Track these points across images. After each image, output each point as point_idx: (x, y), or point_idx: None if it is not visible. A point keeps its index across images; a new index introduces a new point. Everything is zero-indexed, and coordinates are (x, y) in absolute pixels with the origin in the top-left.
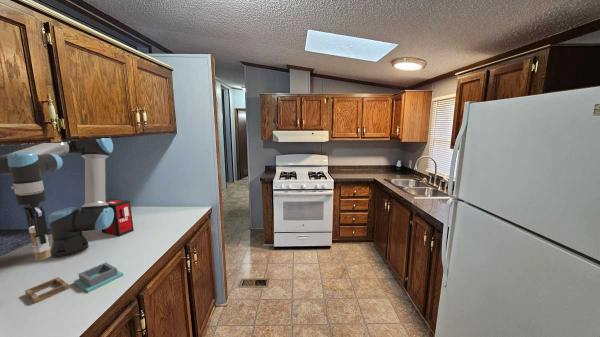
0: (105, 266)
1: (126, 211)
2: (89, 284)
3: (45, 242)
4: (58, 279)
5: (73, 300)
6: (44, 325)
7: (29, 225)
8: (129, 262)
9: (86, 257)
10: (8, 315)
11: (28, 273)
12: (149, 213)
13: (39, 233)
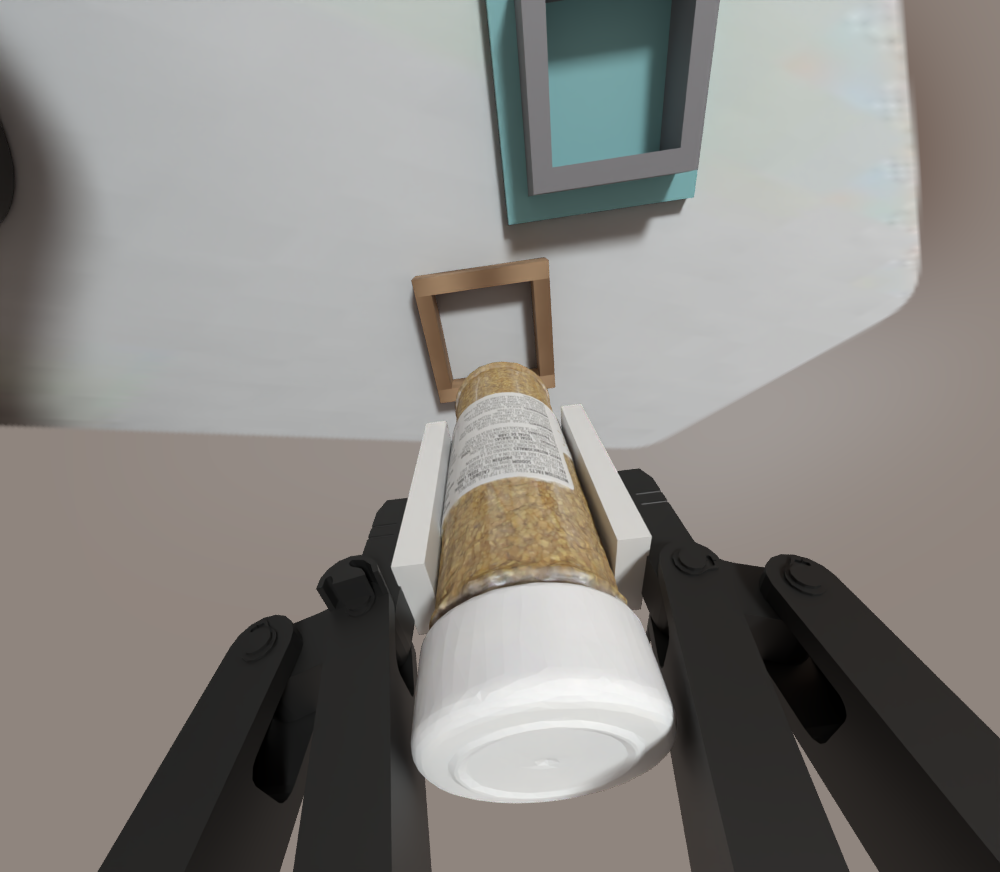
0: None
1: None
2: (671, 174)
3: (648, 481)
4: (445, 285)
5: (681, 269)
6: (739, 375)
7: (297, 792)
8: None
9: (116, 31)
10: None
11: (193, 365)
12: None
13: (822, 672)
